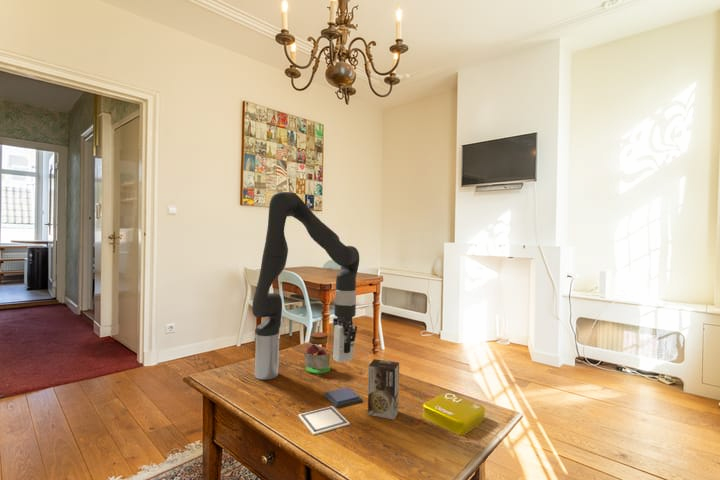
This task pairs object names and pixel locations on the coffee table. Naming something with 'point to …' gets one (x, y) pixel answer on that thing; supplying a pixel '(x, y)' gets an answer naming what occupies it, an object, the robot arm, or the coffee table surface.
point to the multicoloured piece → (320, 360)
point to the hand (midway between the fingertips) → (343, 350)
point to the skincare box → (341, 346)
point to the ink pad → (342, 397)
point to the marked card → (323, 420)
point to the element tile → (454, 413)
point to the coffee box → (383, 389)
